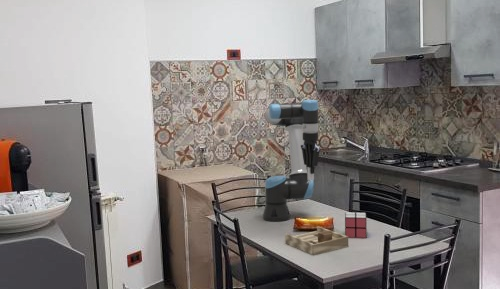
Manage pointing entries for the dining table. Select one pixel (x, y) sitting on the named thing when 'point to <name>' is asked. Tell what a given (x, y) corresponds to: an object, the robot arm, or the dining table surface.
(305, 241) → the wooden sorting tray
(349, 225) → the puzzle cube
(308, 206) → the dining table surface
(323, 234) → the block
